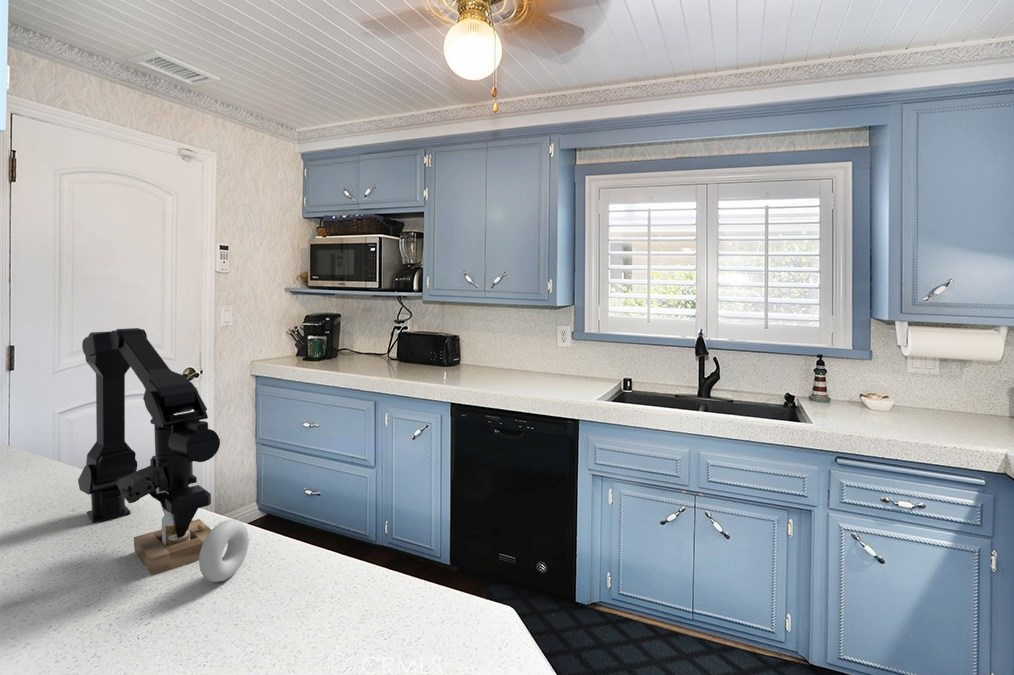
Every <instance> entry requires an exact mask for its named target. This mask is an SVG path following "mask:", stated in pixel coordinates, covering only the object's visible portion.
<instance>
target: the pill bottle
mask: <svg viewBox="0 0 1014 675" xmlns="http://www.w3.org/2000/svg"><path fill="white" fill-rule="evenodd" d="M163 514H165V515H164V516H162V518H161V529H162V545H163V546H164V547H168V546H171V545H175V544H178V543H181V542H185V541H188V540H190V525H189V527H188V529H187V531H186V533H185V535H184V536H183V537H179V538H178V537H177V534H176V531H175V527H174V522H173V518H172V514H171V513H170V512H167V511H166V510H165V509H164V512H163Z"/></svg>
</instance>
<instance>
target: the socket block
mask: <svg viewBox="0 0 1014 675" xmlns="http://www.w3.org/2000/svg"><path fill="white" fill-rule="evenodd" d="M211 530H212V529H211V528H210V526H208V525H207V524H205V523H204V522H203V521H202V520H201V519H200V518H197V519H194V520H192V521H191V523H190V540H188V541H185V542H181V543H178V544H175V545H171V546H168V547H164V546H163V545H162V528H161V529H159V530H154V531H152V532H147V533H144V534H141V535H136V536H134V537H133V544H134V546H133V547H134V554H135V555H136V557H138V559H139V560H140V562H141V563H142V564H143V566H144V567H145V568H146V569H147V571H148V572H149V574H150V575H151V576H154V575H157V574H161V573H164V572H167V571H169V570H173V569H176V568H179V567H181V566H185V565H188V564H192V563H194V562H197V561H199V556H200V551H201V548H202V544H203V543H204V541H205V539H206V537H207V535H208V534H209V533H210V532H211Z"/></svg>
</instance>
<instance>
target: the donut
mask: <svg viewBox="0 0 1014 675" xmlns="http://www.w3.org/2000/svg"><path fill="white" fill-rule="evenodd" d="M249 535H250V534H249V531H248V528H247V527H246V525H245V524H244V523H243V522H242V521H241V520H238V519H227V520H224V521H221V522H219V523H218V524H217V525H215V526H214V527H213V528H212V529H211V532H210V533H209V534H208V535H207V537H206V539H205V541H204V543H203V544H202V548H201V551H200V556H199V560H198V563H199V571H200V572H201V575H202V577H203V578H204V579H206V580H207V581H210V582H212V583H217V582H224V581H226V580H227V579H229V578H231V577H232V576H233V575H235V573H236V572H238V571H239V569H240V568H241V566H242V564H243V563H244V561H245V558H246V556H247V554H248V549H249V545H250V538H249V537H250V536H249ZM226 546H227V547H226ZM225 547H226V551H225V554H224V555H223V553H224V550H225Z"/></svg>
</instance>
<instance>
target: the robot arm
mask: <svg viewBox="0 0 1014 675" xmlns="http://www.w3.org/2000/svg"><path fill="white" fill-rule="evenodd" d="M81 345H82V346H81V347H82V348H81V349H82V352H83V354H84V355H85V362H86V364H88V366H89V367H90V368H91V370H93V372H94V373H95V387H96V388H95V392H96V393H95V396H96V398H95V400H96V401H95V403H96V404H95V406H96V407H95V408H96V414H95V416H96V424H95V425H96V442H95V443H94V445H93V446H92V447H91V449H90V450H89V452H88V453H86V454H87V455H86V461H85V462H86V463H85V466H84V467H83V469H82V471H81V473H80V475H79V477H78V480H77V483H78V487H79V489H78V490H80V491H81V492H83V493H85V494H87V495H88V496H89V495H90V498H91V501H90V502H91V503H90V504H91V510H88V511H87V512H86V514H87V516H88V517H89V519H90V520H91V521H92V523H99V522H103V521H106V520H110V519H115V518H119V517H124V516H127V515H130V514H131V510H130V509H129V508H128V506H126V501H127V503H128V504H133V503H135V502H138V501H140V499H141V498H144V497H145V496H147V495H150V497H152V498H153V499H155V500H156V501H158V502H160V506H161V510H162V511H163V512H162V513H163V514H164V509H165V510H166V511H167V512H170V513H171V514H172V518H173V522H174V527H175V531H176V534H177V537H178V538H179V537H183V536H184V535H185V533H186V531H187V529H188V527H189V525H190V523H191V521H193V519H194V517H195V515H196V514H197V511H198V510H199V509H201V508H204V507H208V506H209V507H210V505H211V504H212V495H211V494H212V493H210V492H209V491H208V489H207V490H206V489H205V488H204V487H202V486H201V485H199V484H197V485H193V484H195V483H197V476H196V475H194V471H193V469H194V467H193V463H194V462H197V463H203V462H206V461H209V460H211V459H213V458H214V456H215V455H216V454H217V453H218V452H219V449H220V445H221V439H220V437H219V434H218V433H217V432H216V431H215V430H213V429H211V428H209V423H208V421H205V420H207V419H208V418H209V417H208V413H207V410H208V408H207V407H206V404H205V403H204V401H203V399H202V397H201V395H200V392H199V390H198V389H197V387H196V386H195V385H194V384H193V383H192V382H191V381H190V379H188V378H187V377H186V376H185V375H184V374H181V373H178V372H175V371H173V370H172V369H171V368H170V367H169V365H167V363H166V362H165V361H164V360H163V358H162V357H161V356H160V353H158V351H157V349H155V347H154V346H153V345H152V343H151V342H150V341H149V339H148V336H147V332H146V330H145V329H143V328H140V327H133V328H129V327H128V328H116V329H115V330H112V331H94V332H93V331H91V332H90V333H89V334H88V336H86V337H85V338H84V339H82V344H81ZM130 368H131V369H132V371H133V372H134V374H135V375H136V377H137V378H138V379H139V381H140V382H141V384H142V386H143V387H144V389H145V390H144V394H143V398H142V399H143V403H144V405H145V408H146V411H147V412H148V413H149V415H150V417H151V419H150V420H149V421H150V424H152V425H154V428H153V429H154V430H153V432H154V452H155V453H154V455H152V456H151V458H150V465H149V466H146V467H144V468H141V469H138V461H137V460H136V455H137V454H136V452H135V450H133V449H132V448H131V447H130V445H129V444H128V443H127V442H126V436H125V435H126V426H125V425H126V423H125V422H126V394H125V393H126V387H125V386H126V379H125V378H126V374H127V373H128V371H129V369H130ZM190 485H191V486H190ZM192 485H193V486H192ZM164 516H165V514H164Z"/></svg>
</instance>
